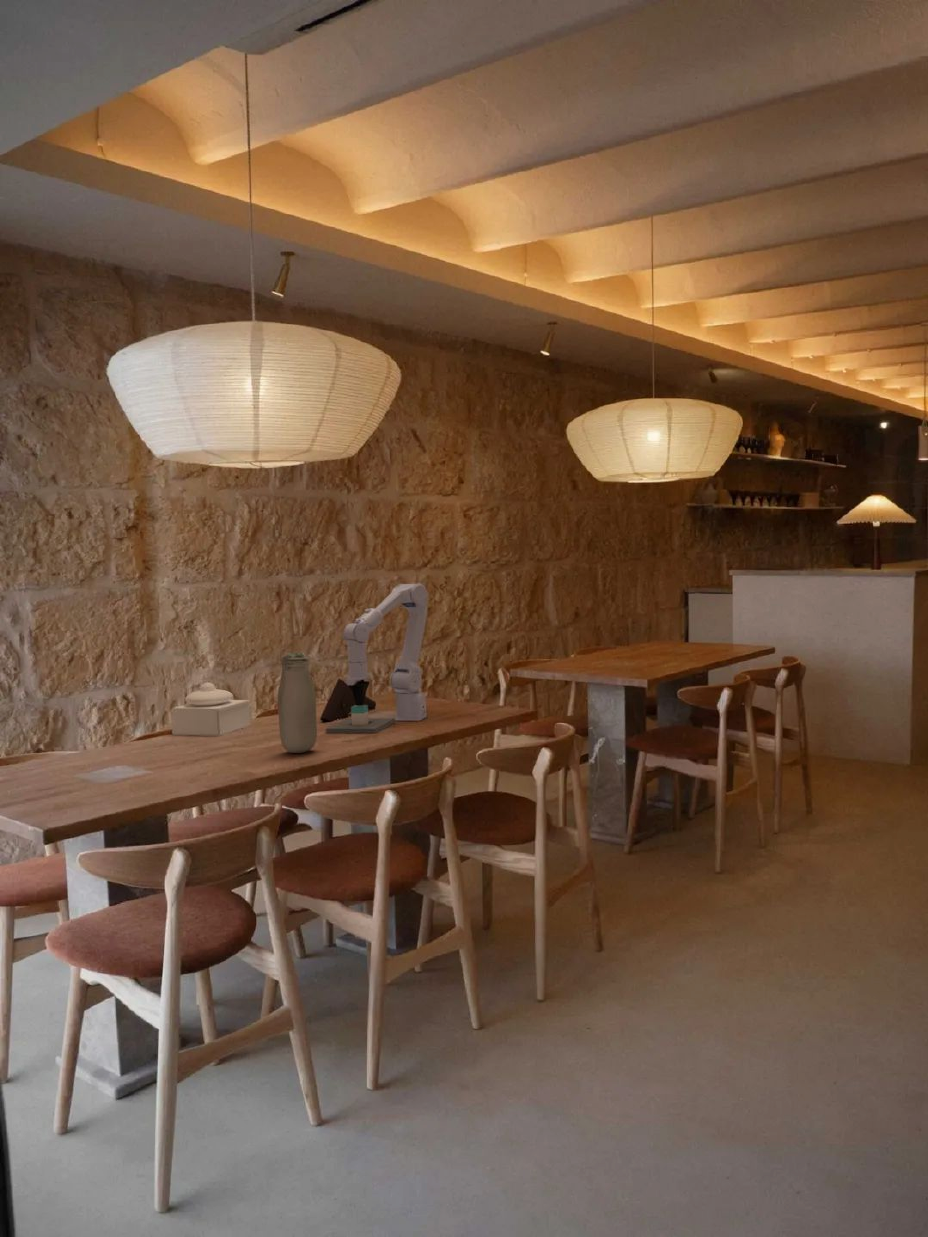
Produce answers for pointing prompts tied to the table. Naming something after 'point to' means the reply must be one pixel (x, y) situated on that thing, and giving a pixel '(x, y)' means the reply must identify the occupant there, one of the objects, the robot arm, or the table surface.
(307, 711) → the glass bottle
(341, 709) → the holster
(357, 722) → the plug
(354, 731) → the port plate
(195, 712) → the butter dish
